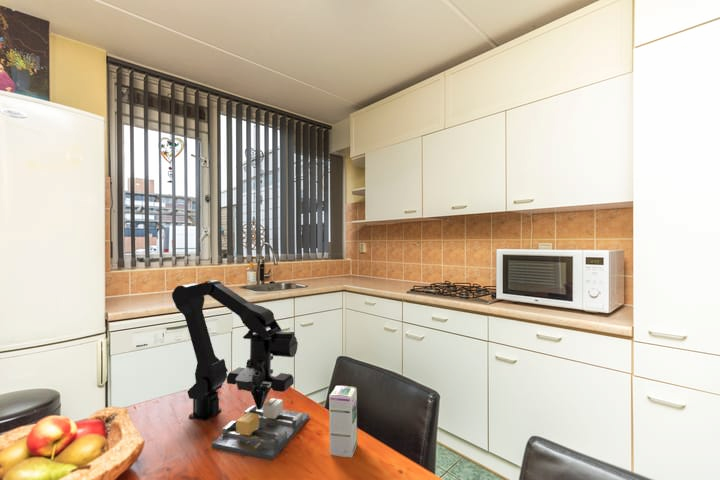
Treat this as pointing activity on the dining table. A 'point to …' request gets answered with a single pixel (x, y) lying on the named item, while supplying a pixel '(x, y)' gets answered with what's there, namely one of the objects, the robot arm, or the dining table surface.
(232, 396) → the dining table surface
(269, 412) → the fader ivory
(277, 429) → the console
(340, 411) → the syrup box
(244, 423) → the fader amber
